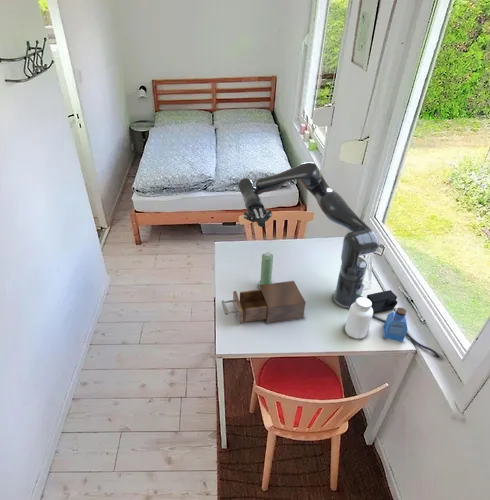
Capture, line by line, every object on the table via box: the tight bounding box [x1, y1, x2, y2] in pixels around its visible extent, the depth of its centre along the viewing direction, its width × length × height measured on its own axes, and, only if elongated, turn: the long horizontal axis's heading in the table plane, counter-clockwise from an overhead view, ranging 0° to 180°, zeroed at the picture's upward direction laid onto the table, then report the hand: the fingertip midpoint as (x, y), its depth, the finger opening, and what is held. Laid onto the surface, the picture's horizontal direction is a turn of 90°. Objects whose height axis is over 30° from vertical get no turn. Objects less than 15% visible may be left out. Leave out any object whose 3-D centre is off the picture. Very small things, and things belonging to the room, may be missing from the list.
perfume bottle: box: [383, 307, 408, 343], centre depth 138 cm, size 6×6×12 cm
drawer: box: [221, 288, 268, 325], centre depth 150 cm, size 19×12×7 cm, turn 99°
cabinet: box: [258, 280, 306, 324], centre depth 152 cm, size 15×13×9 cm
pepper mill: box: [258, 251, 274, 285], centre depth 160 cm, size 5×5×18 cm
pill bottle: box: [344, 296, 374, 339], centre depth 139 cm, size 8×8×15 cm
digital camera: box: [366, 289, 398, 315], centre depth 150 cm, size 10×5×7 cm, turn 104°
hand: (262, 225), depth 158 cm, fingers closed
